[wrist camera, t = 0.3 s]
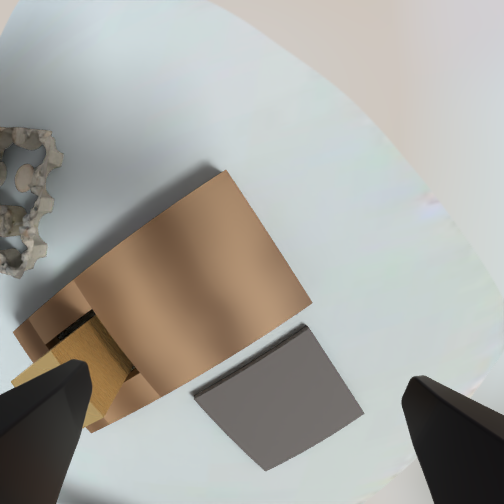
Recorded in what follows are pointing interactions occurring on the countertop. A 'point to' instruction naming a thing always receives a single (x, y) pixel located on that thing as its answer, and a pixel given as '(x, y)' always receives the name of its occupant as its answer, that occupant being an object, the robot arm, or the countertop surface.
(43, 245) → the egg carton
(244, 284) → the walnut board
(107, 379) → the brass plug
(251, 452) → the rubber mat
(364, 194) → the countertop surface
